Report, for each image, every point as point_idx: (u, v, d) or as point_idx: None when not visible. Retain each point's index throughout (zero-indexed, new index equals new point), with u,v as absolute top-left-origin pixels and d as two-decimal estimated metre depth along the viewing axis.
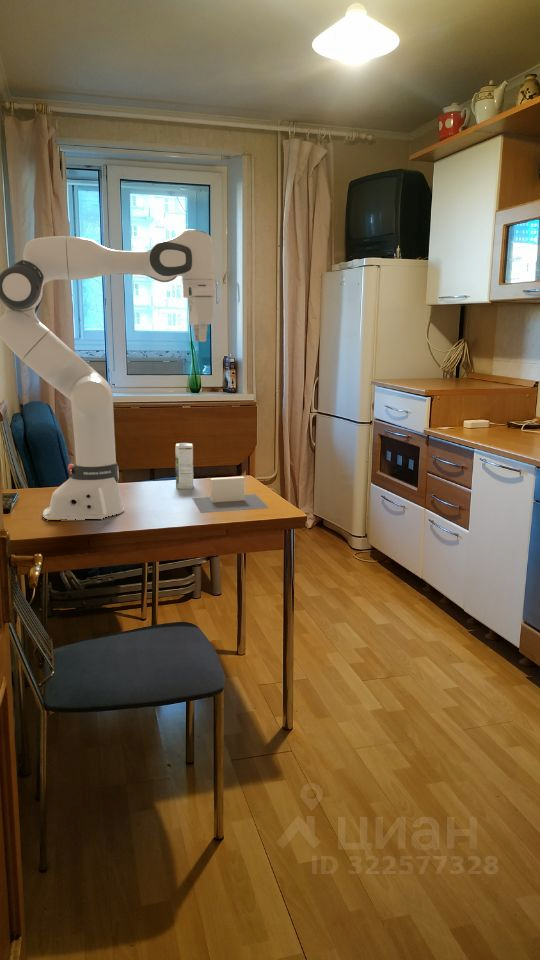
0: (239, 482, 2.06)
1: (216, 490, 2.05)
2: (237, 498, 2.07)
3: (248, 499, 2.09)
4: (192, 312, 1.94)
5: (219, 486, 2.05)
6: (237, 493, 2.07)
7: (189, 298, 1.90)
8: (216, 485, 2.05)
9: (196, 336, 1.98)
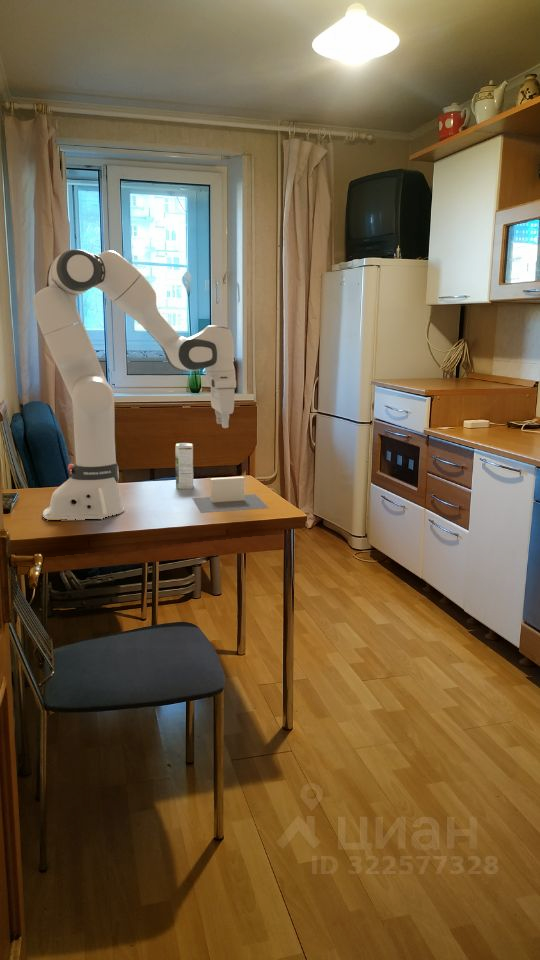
0: (239, 482, 2.06)
1: (216, 490, 2.05)
2: (237, 498, 2.07)
3: (248, 499, 2.09)
4: (214, 399, 2.09)
5: (219, 486, 2.05)
6: (237, 493, 2.07)
7: (212, 387, 2.05)
8: (216, 485, 2.05)
9: (218, 419, 2.13)
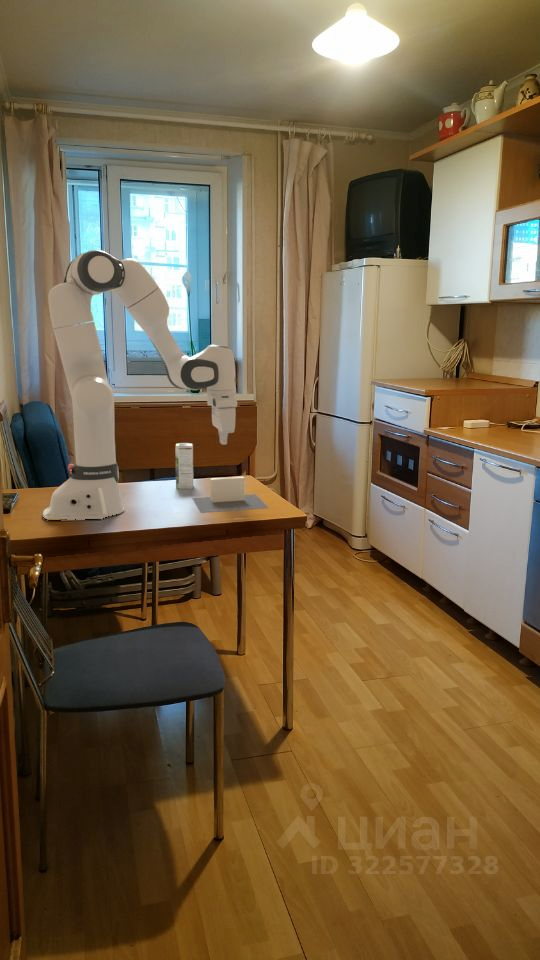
0: (239, 482, 2.06)
1: (216, 490, 2.05)
2: (237, 498, 2.07)
3: (248, 499, 2.09)
4: (215, 417, 2.11)
5: (219, 486, 2.05)
6: (237, 493, 2.07)
7: (213, 406, 2.07)
8: (216, 485, 2.05)
9: None
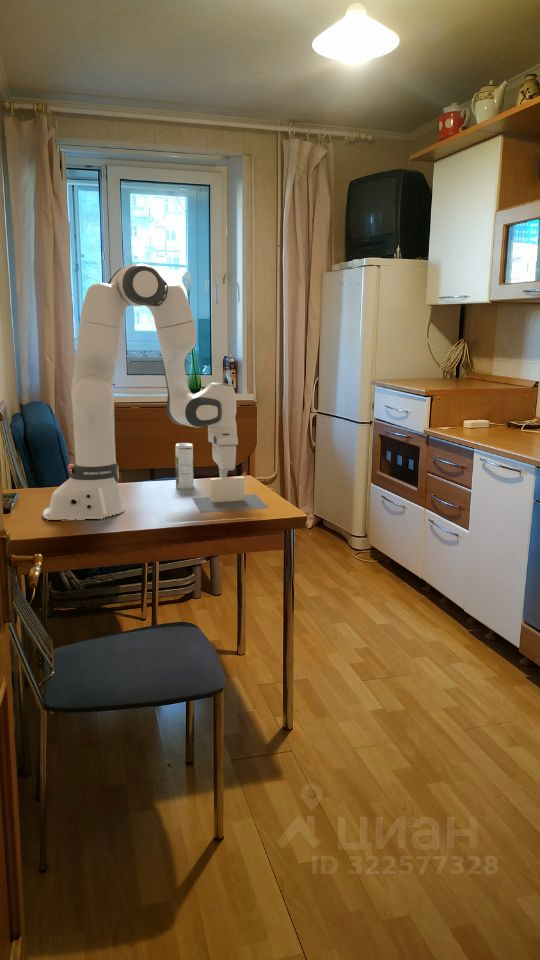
0: (239, 482, 2.06)
1: (216, 490, 2.05)
2: (237, 498, 2.07)
3: (248, 499, 2.09)
4: (216, 453, 2.12)
5: (219, 486, 2.05)
6: (237, 493, 2.07)
7: (213, 443, 2.09)
8: (216, 485, 2.05)
9: None
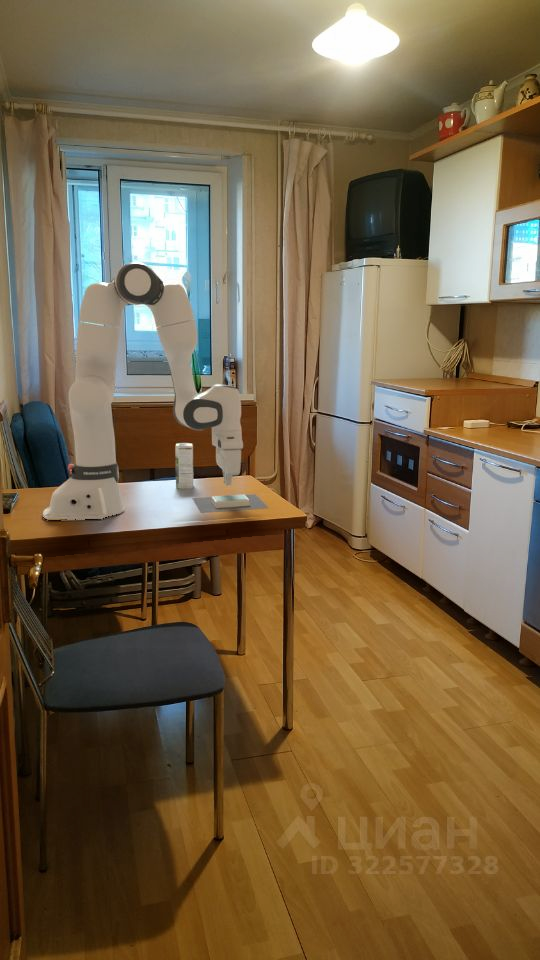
0: None
1: None
2: None
3: None
4: (220, 457, 2.06)
5: None
6: None
7: (218, 446, 2.02)
8: None
9: None
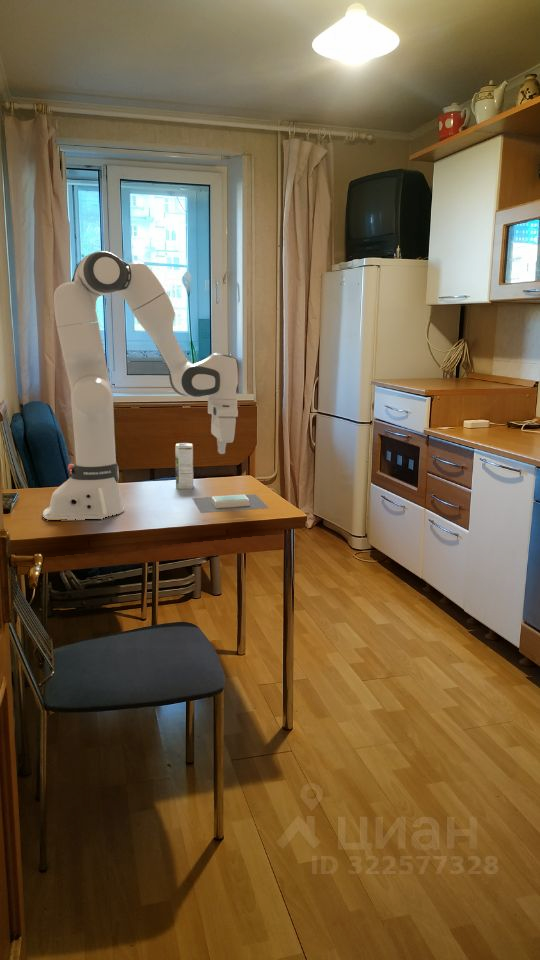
0: None
1: None
2: None
3: None
4: (215, 426, 2.09)
5: None
6: None
7: (213, 415, 2.05)
8: None
9: None
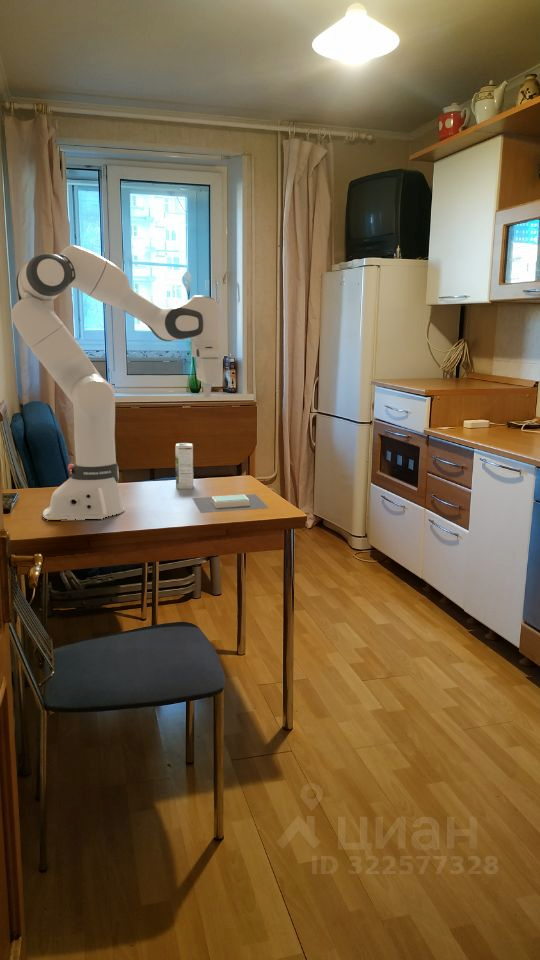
0: None
1: None
2: None
3: None
4: (199, 370, 2.09)
5: None
6: None
7: (197, 358, 2.06)
8: None
9: None
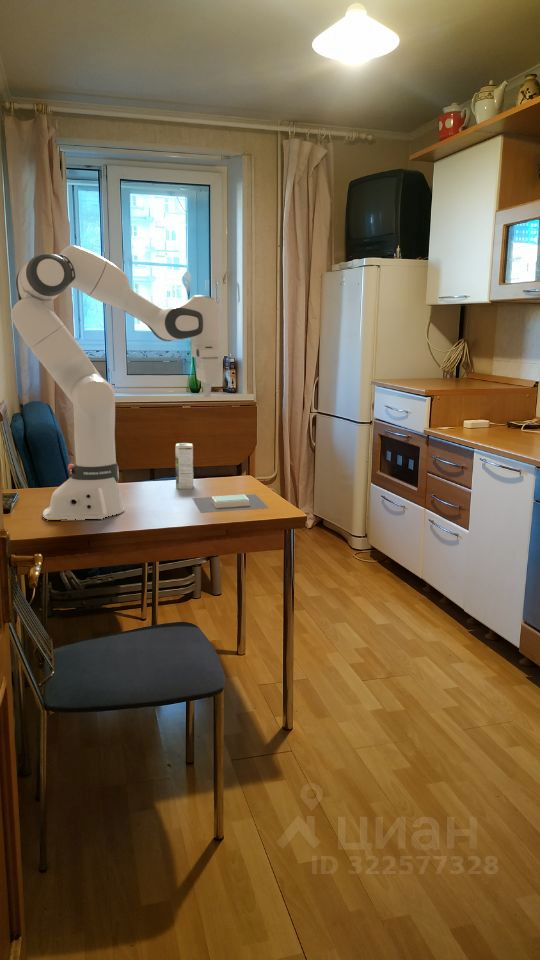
0: None
1: None
2: None
3: None
4: (199, 369, 2.09)
5: None
6: None
7: (197, 358, 2.06)
8: None
9: None
